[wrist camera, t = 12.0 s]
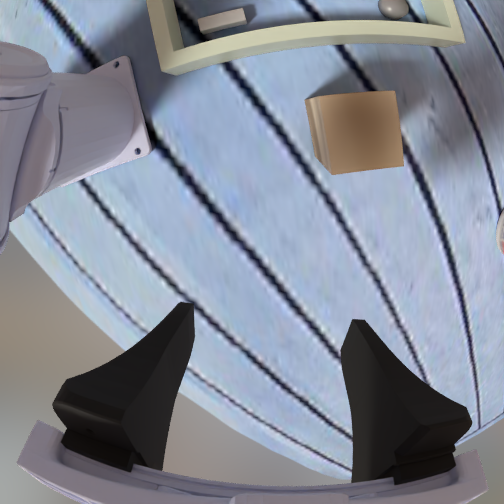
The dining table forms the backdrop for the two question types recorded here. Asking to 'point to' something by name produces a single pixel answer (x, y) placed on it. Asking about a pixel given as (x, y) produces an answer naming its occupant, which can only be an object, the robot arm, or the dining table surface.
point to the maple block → (356, 131)
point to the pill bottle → (500, 233)
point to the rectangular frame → (296, 33)
